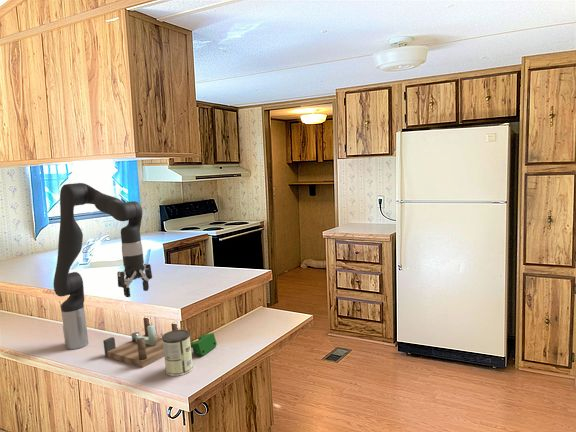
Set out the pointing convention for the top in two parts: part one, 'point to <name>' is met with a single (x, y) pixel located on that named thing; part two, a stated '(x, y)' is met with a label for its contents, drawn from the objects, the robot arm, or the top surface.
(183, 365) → the coffee can
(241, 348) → the top surface
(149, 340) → the swing leg
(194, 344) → the clamp
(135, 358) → the stool seat
